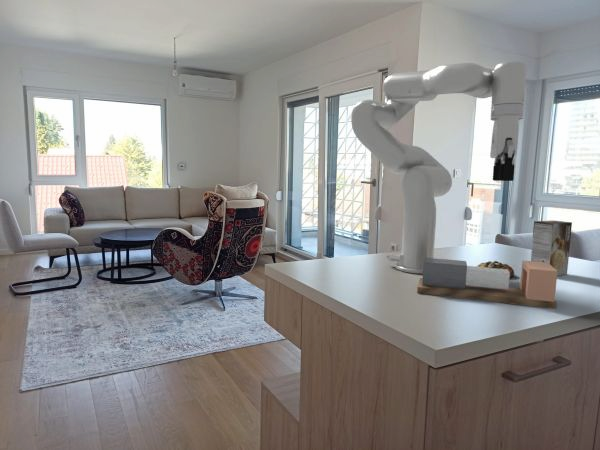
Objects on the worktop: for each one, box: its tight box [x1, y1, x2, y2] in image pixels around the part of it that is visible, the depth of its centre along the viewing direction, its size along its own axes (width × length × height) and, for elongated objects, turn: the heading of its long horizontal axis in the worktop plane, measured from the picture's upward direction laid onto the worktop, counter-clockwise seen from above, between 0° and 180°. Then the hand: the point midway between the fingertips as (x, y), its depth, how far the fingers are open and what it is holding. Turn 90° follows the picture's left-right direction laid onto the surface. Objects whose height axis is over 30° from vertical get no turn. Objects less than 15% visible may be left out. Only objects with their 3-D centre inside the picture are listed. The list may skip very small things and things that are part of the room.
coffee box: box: [530, 220, 573, 277], centre depth 128 cm, size 9×6×16 cm
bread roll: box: [475, 260, 515, 279], centre depth 126 cm, size 11×11×5 cm
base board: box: [416, 277, 558, 310], centre depth 104 cm, size 30×10×2 cm, turn 71°
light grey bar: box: [466, 265, 511, 289], centre depth 104 cm, size 18×4×4 cm, turn 71°
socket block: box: [519, 259, 558, 302], centre depth 99 cm, size 6×10×7 cm, turn 161°
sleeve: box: [422, 257, 468, 290], centre depth 106 cm, size 10×6×6 cm, turn 71°
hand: (502, 180), depth 110 cm, fingers open, 9 cm apart
